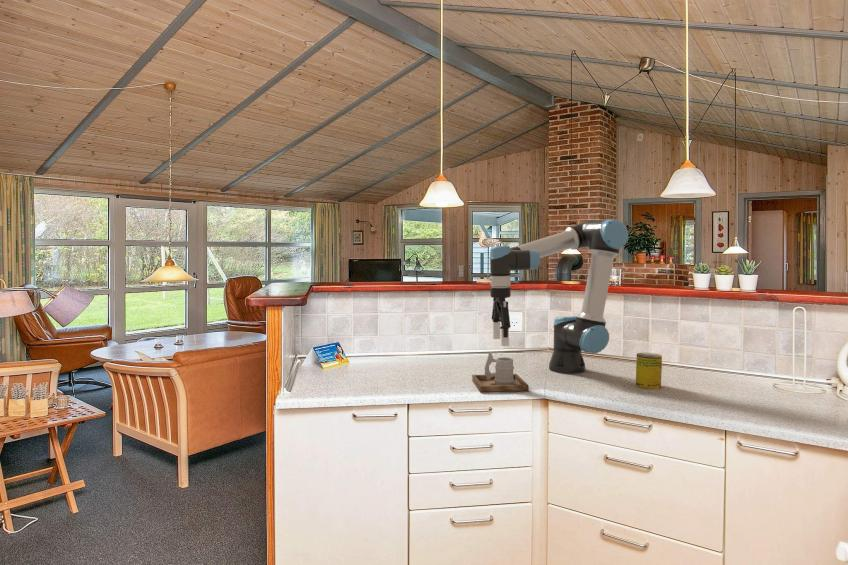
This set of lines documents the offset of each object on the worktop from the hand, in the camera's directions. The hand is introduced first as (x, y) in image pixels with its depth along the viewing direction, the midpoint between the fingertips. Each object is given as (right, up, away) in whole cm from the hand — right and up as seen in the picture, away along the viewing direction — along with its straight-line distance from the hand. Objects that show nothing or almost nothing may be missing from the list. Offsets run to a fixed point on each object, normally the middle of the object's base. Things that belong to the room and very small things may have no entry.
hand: (500, 342), depth 211 cm
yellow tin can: (+57, -17, +2) cm, 59 cm away
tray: (0, -17, +1) cm, 17 cm away
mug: (0, -16, +2) cm, 17 cm away
